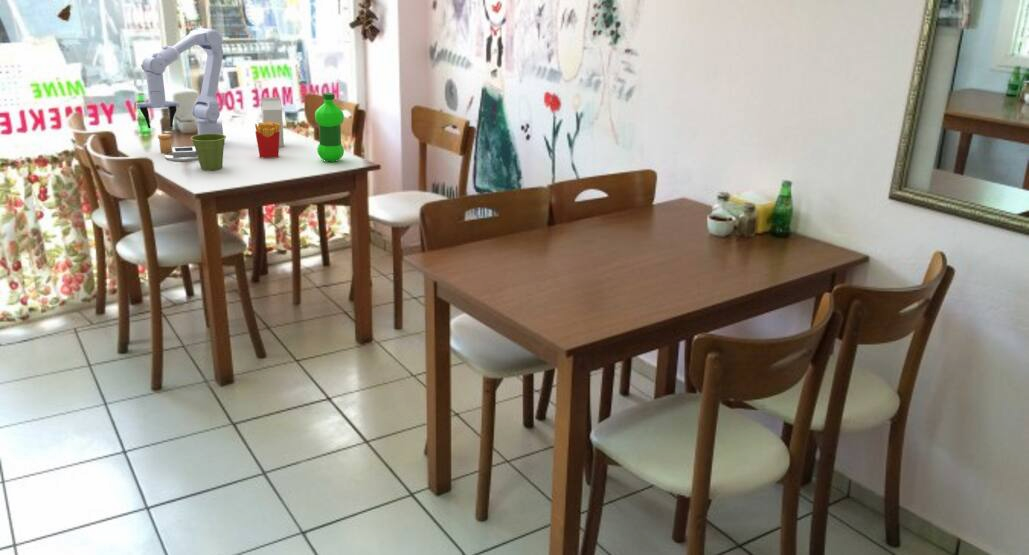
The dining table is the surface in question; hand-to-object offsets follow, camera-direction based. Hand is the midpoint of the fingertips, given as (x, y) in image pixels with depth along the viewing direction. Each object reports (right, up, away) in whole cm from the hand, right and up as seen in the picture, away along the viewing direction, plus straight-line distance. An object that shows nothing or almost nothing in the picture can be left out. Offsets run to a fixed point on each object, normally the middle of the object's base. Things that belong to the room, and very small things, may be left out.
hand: (160, 127), depth 312 cm
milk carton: (+36, -4, +22) cm, 42 cm away
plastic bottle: (+63, -12, +3) cm, 64 cm away
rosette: (+13, -11, -1) cm, 17 cm away
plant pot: (+24, -18, -15) cm, 33 cm away
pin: (+1, -9, +3) cm, 10 cm away
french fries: (+40, -11, +5) cm, 41 cm away
